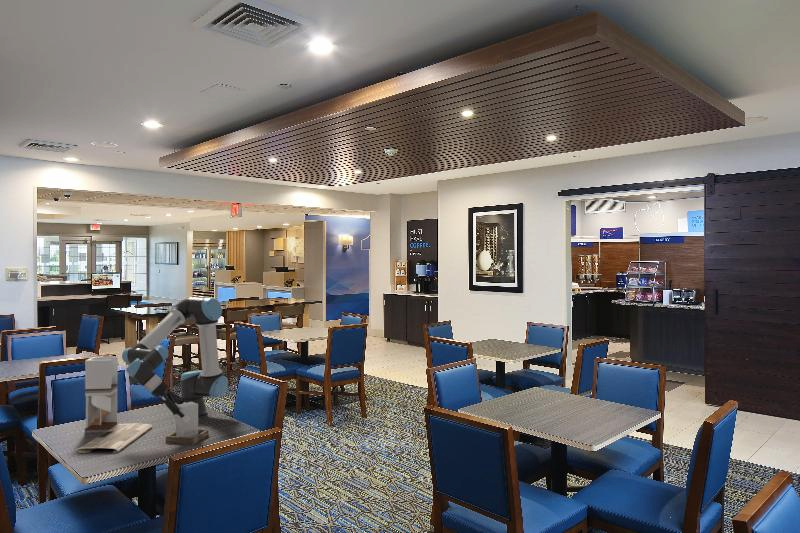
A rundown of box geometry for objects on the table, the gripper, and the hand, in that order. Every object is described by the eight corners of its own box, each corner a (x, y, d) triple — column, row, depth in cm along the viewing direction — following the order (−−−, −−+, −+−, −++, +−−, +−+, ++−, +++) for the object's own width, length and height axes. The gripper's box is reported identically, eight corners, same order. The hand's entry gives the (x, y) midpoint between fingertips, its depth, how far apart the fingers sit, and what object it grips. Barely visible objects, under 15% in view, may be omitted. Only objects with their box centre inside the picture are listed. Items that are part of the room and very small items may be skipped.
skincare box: (192, 433, 266) (192, 401, 266) (199, 436, 262) (199, 403, 262) (175, 437, 260) (175, 404, 260) (182, 440, 256) (182, 407, 256)
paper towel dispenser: (84, 432, 269) (85, 360, 269) (92, 426, 280) (93, 356, 279) (110, 431, 271) (110, 360, 271) (117, 425, 282) (117, 356, 282)
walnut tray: (182, 433, 269) (182, 427, 269) (208, 435, 267) (208, 429, 267) (165, 442, 256) (165, 436, 256) (192, 444, 254) (192, 438, 254)
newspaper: (116, 428, 278) (116, 423, 278) (155, 428, 279) (155, 423, 279) (76, 454, 241) (76, 447, 241) (122, 454, 242) (122, 447, 242)
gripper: (155, 386, 269) (187, 415, 273) (145, 399, 245) (181, 430, 249) (166, 375, 271) (199, 404, 274) (158, 386, 246) (193, 418, 250)
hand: (190, 417), depth 262 cm, fingers open, 13 cm apart
